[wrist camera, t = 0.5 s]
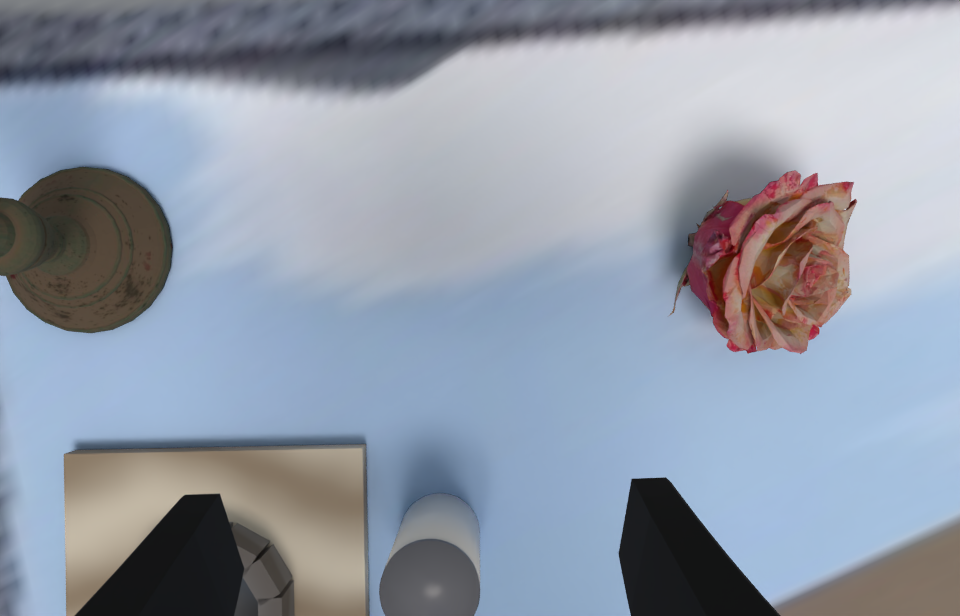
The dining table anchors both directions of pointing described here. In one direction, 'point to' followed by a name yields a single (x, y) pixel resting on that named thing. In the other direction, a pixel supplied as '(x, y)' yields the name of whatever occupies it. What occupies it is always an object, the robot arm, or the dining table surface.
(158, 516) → the tan square tray
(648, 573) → the robot arm
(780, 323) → the flower
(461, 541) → the grey capped cylinder
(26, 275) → the candlestick holder
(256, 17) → the dining table surface
